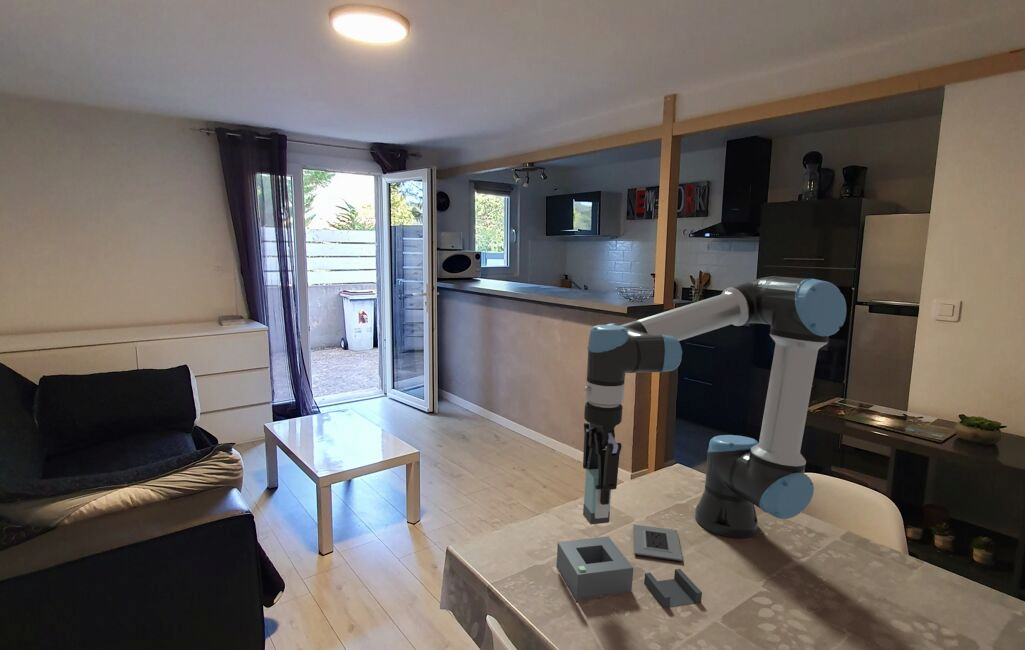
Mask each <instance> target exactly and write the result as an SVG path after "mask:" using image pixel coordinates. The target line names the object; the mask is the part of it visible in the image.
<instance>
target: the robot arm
mask: <svg viewBox="0 0 1025 650" xmlns="http://www.w3.org/2000/svg"><path fill="white" fill-rule="evenodd" d="M846 302H847V301H846V299H845V297H844V294H843V293H841V290H840V289H839V288H838V287H837V286H836V285H835V284H834V283H832V282H829V281H827V280H826V281H825V280H820V279H815V278H804V277H803V278H802V277H800V278H799V277H790V276H789V277H788V276H779V275H774V276H772V275H771V276H766V277H760V278H757V279H756V278H755V279H753V280H750V281H747V282H743V283H740V284H736V285H733V286H729V287H727V288H725V289H723V291H722V292H721V294H719V295H715V296H712V297H708V298H706V299H701V300H699V301H696V302H693V303H689V304H686V305H683V306H680V307H676V308H672V309H669V310H666V311H663V312H660V313H657V314H654V315H651V316H647V317H644V318H640V319H638V320H634V321H633V320H632V321H629V322H627V323H623V324H620V323H607V324H598V325H595V326H592V327H591V329H590V331H589V336H588V343H587V344H588V345H587V365H586V367H587V368H586V369H587V370H586V385H585V386H584V387H583V389H584V392H585V400H586V402H585V403H584V412H583V413H584V414H583V417H584V420H585V421H586V422H584V423H583V431H584V432H583V433H584V439H583V458H582V468H583V469H584V470H585V471H586V470H588V469H598V476H599V485H598V486H595V488H596V500H595V516H594V517H595V518H596V519H597V518H607V517H608V513H609V499H610V490H611V491H612V490H616V489H617V487H618V486H617V485H618V474H619V463H620V454H621V451H622V443H621V442H617V441H616V440H615V439H616V433H615V428H616V426H619V425H620V424H621V423H622V419H623V408H624V407H623V405H622V404H623V403H624V395H625V381H626V374H633V373H635V374H636V373H637V374H638V373H640V374H641V373H660V374H662V373H667V372H672V371H675V370H677V368H679V366H680V364H681V362H682V357H683V349H682V345H681V343H680V341H682V340H683V341H684V340H687V339H690V338H692V337H695V336H700V335H702V334H705V333H708V332H712V331H714V330H718V329H720V328H724V327H727V326H730V325H733V326H736V327H740V326H745V325H747V324H761V325H762V324H764V325H769V326H770V329H769V336H770V338H771V339H772V341H774V343H775V346H774V352H773V359H772V362H771V363H772V364H771V369H770V375H769V379H768V381H769V382H768V388H767V393H766V398H765V405H764V411H763V416H762V417H763V418H762V423H761V427H760V428H761V429H760V435H759V439H758V440H759V441H758V440H756V439H755V438H752V437H749V436H743V435H734V434H723V435H722V434H721V435H716V436H713V437H712V438H711V439H710V440H709V444H708V449H707V457H706V469H705V480H704V481H705V482H704V491H703V493H702V495H701V497H700V500H699V502H698V503H697V505H696V508H695V513H694V518H695V521H696V522H697V524H699V526H701V527H702V528H704V529H705V530H707V531H709V532H710V533H711V532H712V533H714V534H715V535H719V536H723V537H728V538H733V539H734V538H738V539H744V538H749V537H752V536H754V535H755V534H756V533H757V532H758V526H759V520H758V517H757V513H756V512H757V511H756V507H757V508H759V509H760V510H761V511H762V512H764V513H766V514H769V515H771V516H772V517H774V518H777V519H781V520H786V519H793V518H794V517H796V516H798V515H800V514H801V513H802V512H803V511H805V509H806V508H807V507H808V506H809V504H810V503H811V501H812V498H813V496H814V492H815V491H814V490H815V486H814V483H813V482H812V479H811V478H810V476H809V475H808V474H806V473H805V470H806V464H807V460H806V459H805V457H804V456H803V455H802V453H801V449H802V444H803V443H802V442H803V436H804V432H805V426H806V421H807V415H808V409H809V404H810V399H811V392H812V387H813V381H814V377H815V369H816V364H817V358H818V353H819V350H820V349H821V348H822V347H824V346H826V345H827V344H828V343H829V336H832V335H835V334H837V332H838V331H840V328H842V327H843V326H844V323H845V321H846V318H847V303H846ZM610 500H611V499H610Z"/></svg>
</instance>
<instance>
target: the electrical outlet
mask: <svg viewBox="0 0 1025 650" xmlns="http://www.w3.org/2000/svg"><path fill="white" fill-rule="evenodd" d="M632 528H633V529H632V530H633V532H632V533H633V551H634V553H633V555H634V556H638V557H644V558H645V557H646V558H652V559H659V560H664V561H665V560H667V561H672V562H679V563H681V562H683V561H684V560H683V559H684V558H683V555H682V554H683V553H682V549H681V544H680V540H679V539H680V538H679V533H678V530H677V529H673V528H672V529H671V528H663V527H656V526H648V525H647V526H646V525H641V524H633V527H632Z"/></svg>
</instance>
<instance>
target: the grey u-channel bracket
mask: <svg viewBox="0 0 1025 650" xmlns="http://www.w3.org/2000/svg"><path fill="white" fill-rule="evenodd" d="M653 575H654V574H652V573H651V572H644V581H643V584H644V586H645V587H646V588H647V589H648V591H649V592H650V593H651V594H652V595H653V597H654V598H655V599H656V600H657V602H658V603H659V605H661V607H662V608H663V609H668V608H674V607H681V606H682V607H683V606H689V605H695V604H696V605H697V604H700V603H702V596H703V591H701V589H700V588H699V587H698V586H697V585H696V583H694V582H693V581H692V580H691V579H690V578H689V577H688V576H687V574H686V573H685V572H684V571H683V570H682V569H681V568H674V578H672V579H671V578H670V579H664V580H657V578H655V577H654V576H653Z"/></svg>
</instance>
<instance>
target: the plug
mask: <svg viewBox="0 0 1025 650" xmlns="http://www.w3.org/2000/svg"><path fill="white" fill-rule="evenodd" d="M584 484H585V485H584V499H583V506H582V507H583V509H582V515H583V517H584V518H585V519H586V521H587V522H588V523H589V524H590V525H600V524H609V523H610V514H611V509H610V508H611V498H612V497H611V496H612V490H610V499H609V513H608V517H607V518H597V519H596V518H595V517H594V516H595V500H596V488H595V486H598V485H599V476H598V469H588V470H586V469H585V483H584Z"/></svg>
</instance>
